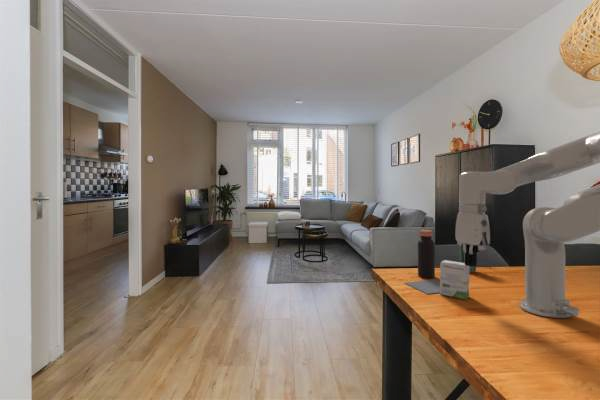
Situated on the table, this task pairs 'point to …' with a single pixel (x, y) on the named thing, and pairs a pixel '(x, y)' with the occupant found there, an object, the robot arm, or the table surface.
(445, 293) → the ink box
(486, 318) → the table surface
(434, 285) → the mat
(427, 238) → the bottle
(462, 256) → the can
